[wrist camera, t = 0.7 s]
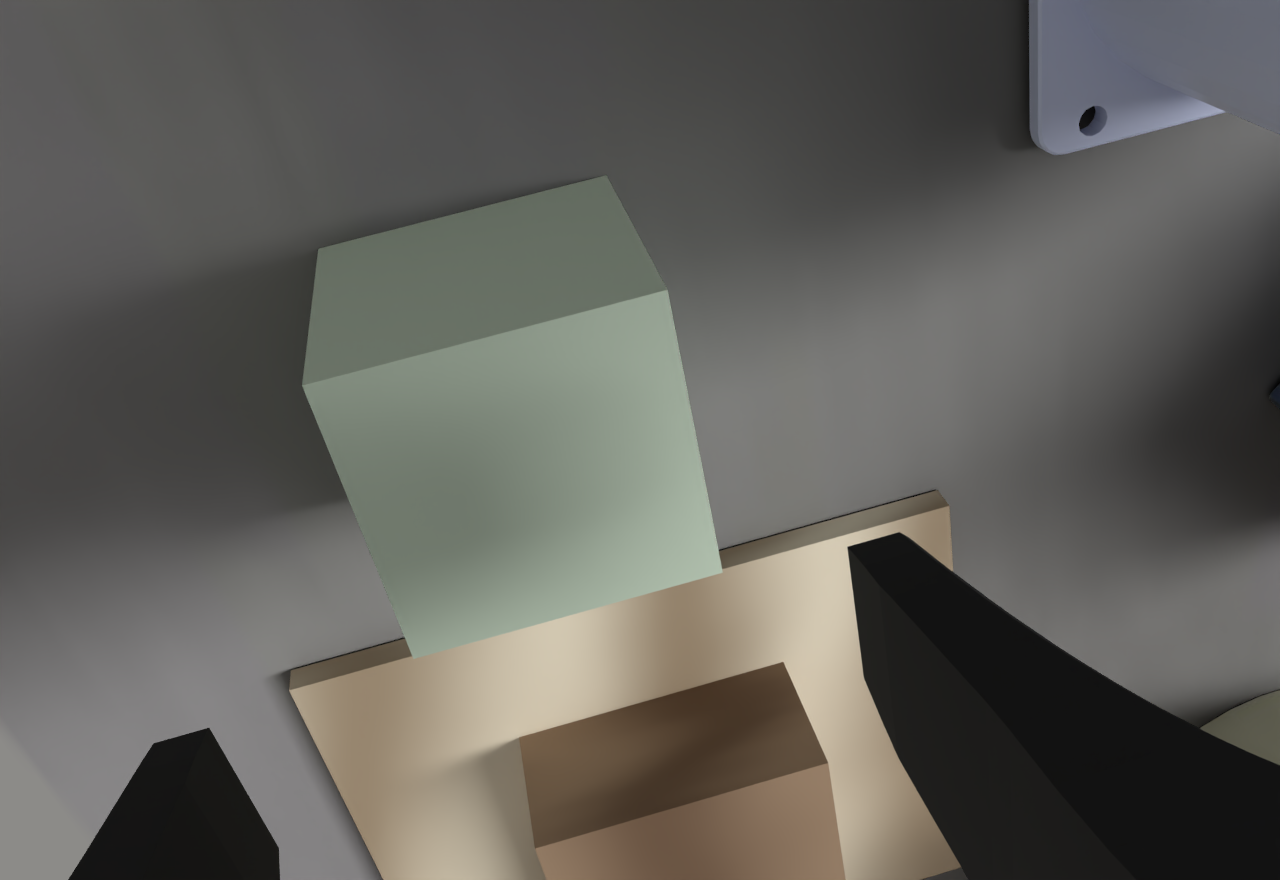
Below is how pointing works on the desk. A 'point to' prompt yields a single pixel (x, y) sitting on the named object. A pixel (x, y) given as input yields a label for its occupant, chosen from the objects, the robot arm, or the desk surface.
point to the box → (1276, 396)
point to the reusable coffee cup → (1252, 726)
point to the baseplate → (612, 656)
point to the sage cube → (509, 414)
